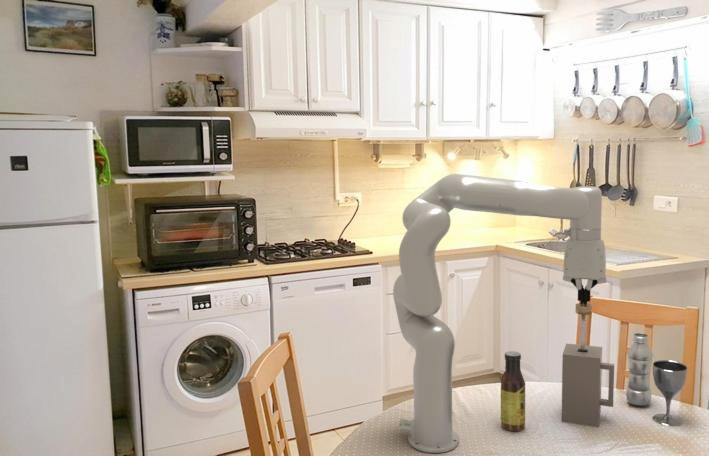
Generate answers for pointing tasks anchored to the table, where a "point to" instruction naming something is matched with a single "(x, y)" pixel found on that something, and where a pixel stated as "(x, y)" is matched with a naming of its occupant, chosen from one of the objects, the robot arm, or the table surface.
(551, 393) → the table surface
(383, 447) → the table surface
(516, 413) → the sauce bottle
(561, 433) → the table surface
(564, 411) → the press pot
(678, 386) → the wine glass
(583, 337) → the plunger
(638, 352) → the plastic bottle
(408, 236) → the robot arm
